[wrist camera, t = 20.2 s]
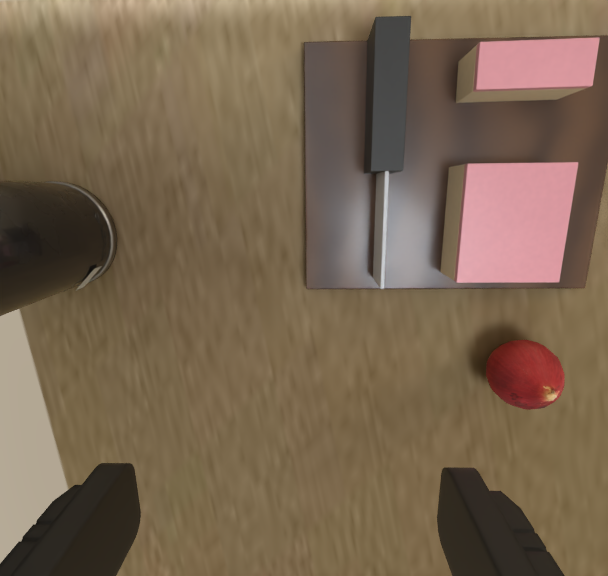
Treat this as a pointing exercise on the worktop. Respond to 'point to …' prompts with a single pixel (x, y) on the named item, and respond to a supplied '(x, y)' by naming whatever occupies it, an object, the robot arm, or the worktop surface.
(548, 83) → the pink and tan block
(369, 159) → the knife
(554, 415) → the worktop surface
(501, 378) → the onion
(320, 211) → the cake board
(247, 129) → the worktop surface
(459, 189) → the cake
